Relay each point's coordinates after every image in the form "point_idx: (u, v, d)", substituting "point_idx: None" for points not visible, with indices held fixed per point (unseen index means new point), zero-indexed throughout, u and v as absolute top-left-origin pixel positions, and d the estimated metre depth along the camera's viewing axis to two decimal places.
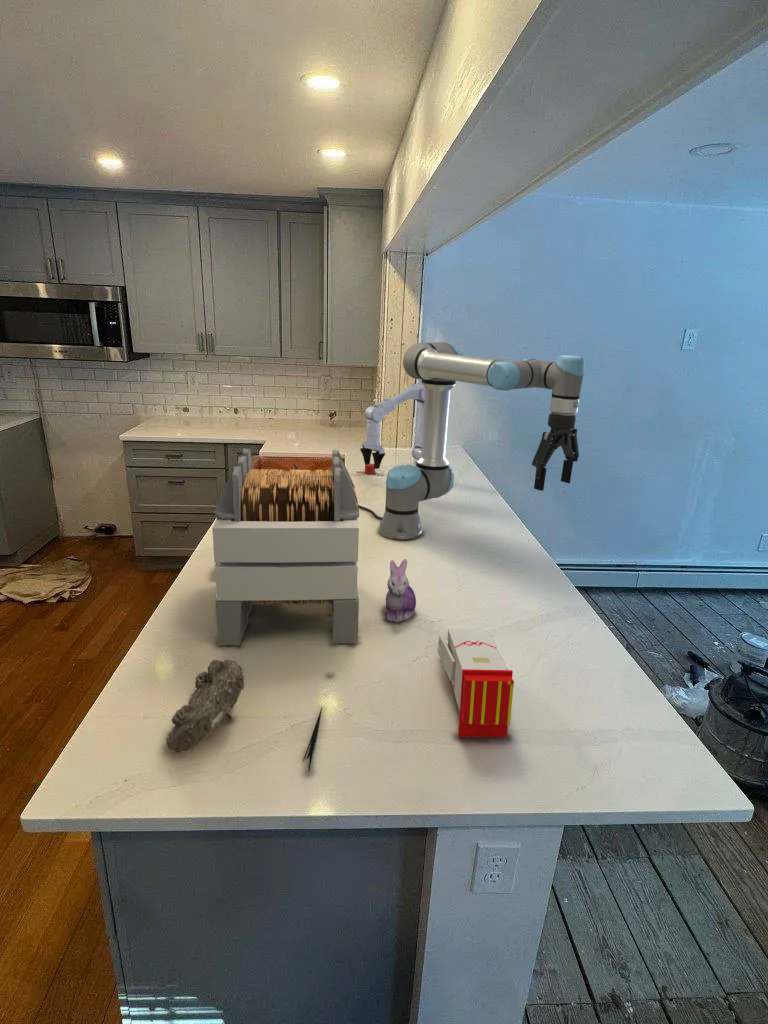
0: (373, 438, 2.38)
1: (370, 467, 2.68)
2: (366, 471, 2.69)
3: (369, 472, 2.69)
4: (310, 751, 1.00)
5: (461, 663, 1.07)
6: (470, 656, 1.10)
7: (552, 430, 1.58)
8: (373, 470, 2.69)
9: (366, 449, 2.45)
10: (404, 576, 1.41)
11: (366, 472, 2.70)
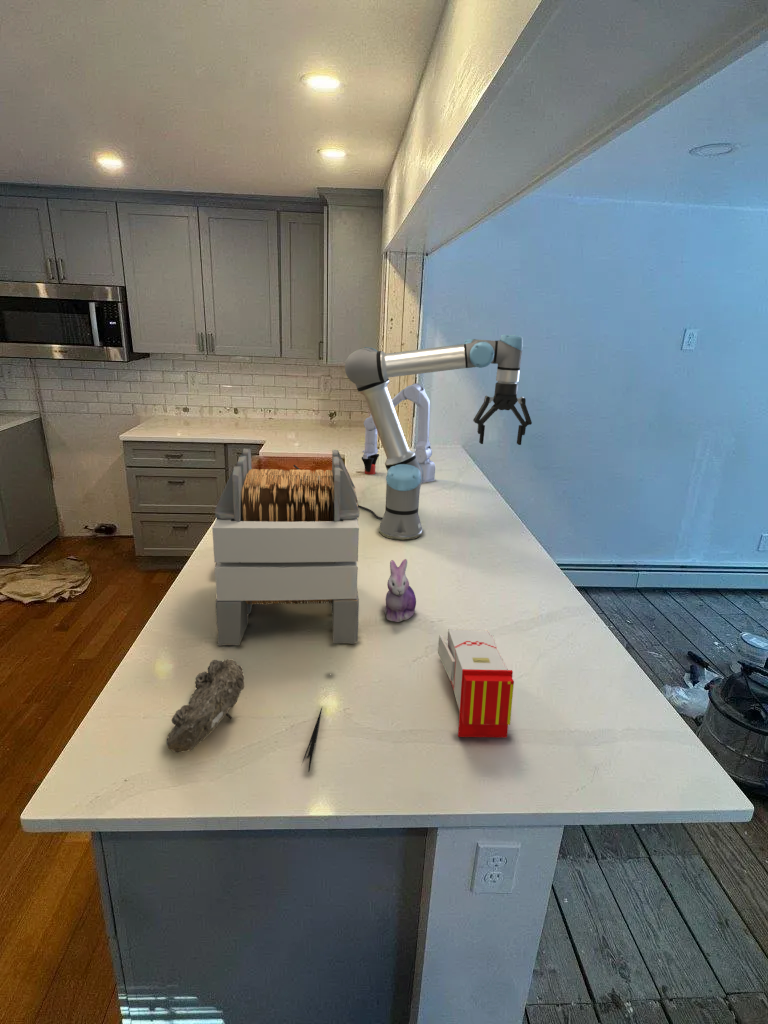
0: (366, 444, 2.65)
1: None
2: None
3: (369, 472, 2.69)
4: (310, 751, 1.00)
5: (461, 663, 1.07)
6: (470, 656, 1.10)
7: None
8: (373, 470, 2.69)
9: (371, 455, 2.71)
10: (404, 576, 1.41)
11: (366, 472, 2.70)
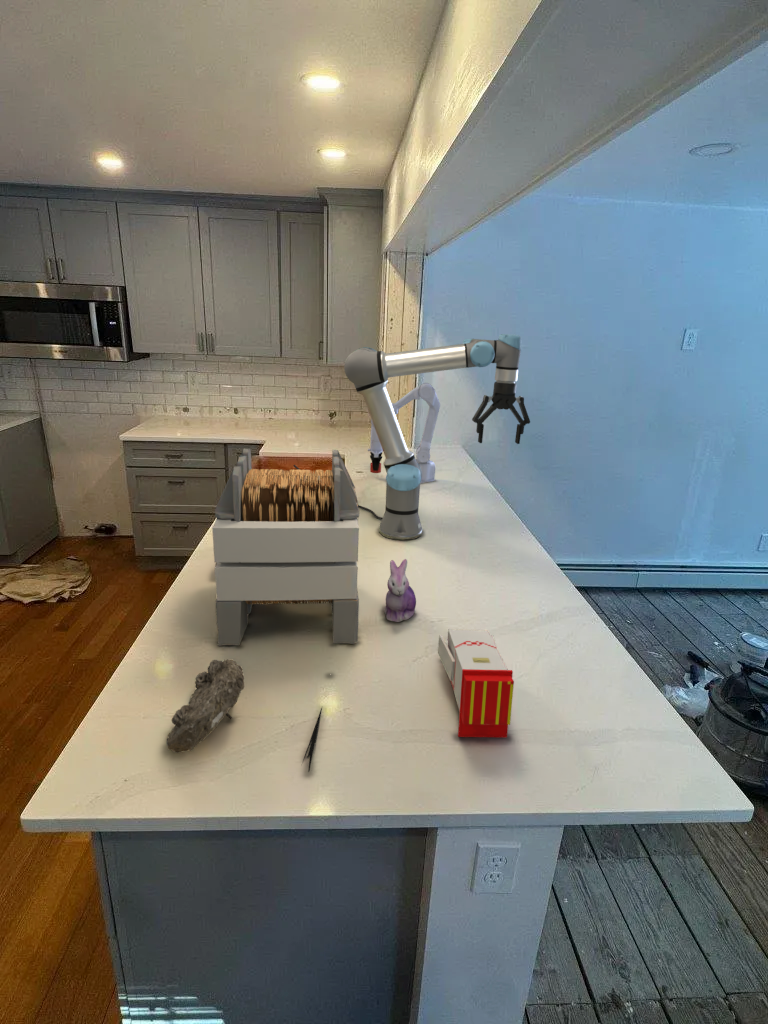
0: (373, 442, 2.56)
1: None
2: (373, 470, 2.61)
3: (377, 471, 2.61)
4: (310, 751, 1.00)
5: (461, 663, 1.07)
6: (470, 656, 1.10)
7: None
8: (380, 468, 2.62)
9: None
10: (404, 576, 1.41)
11: (373, 471, 2.61)
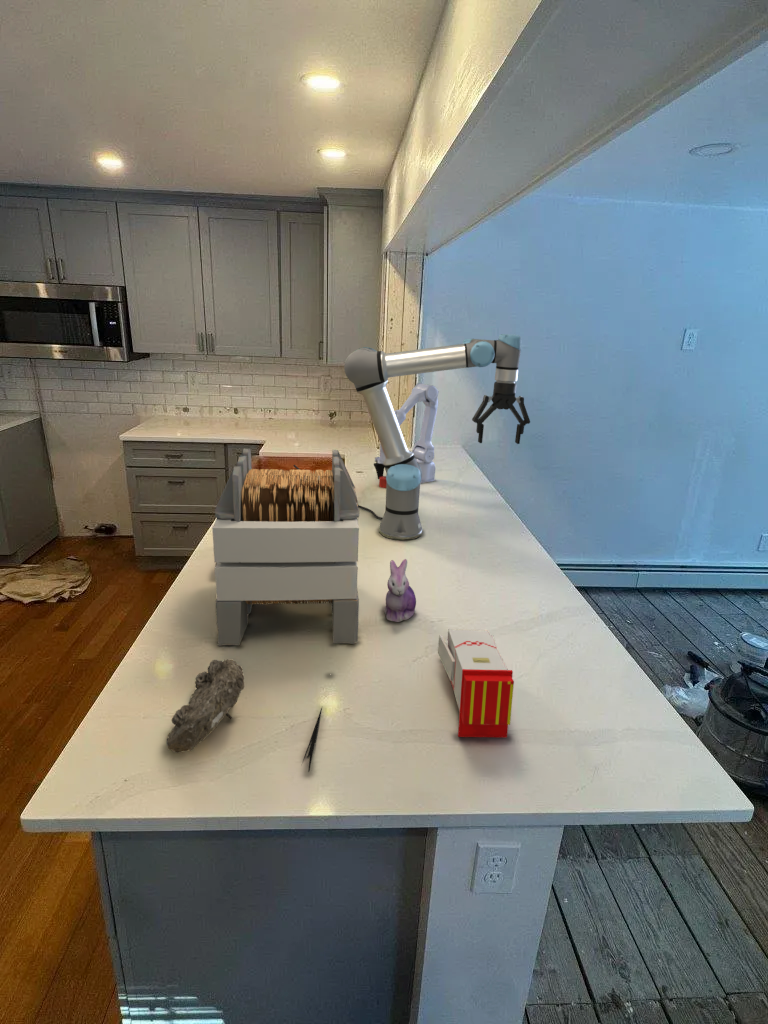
0: None
1: None
2: None
3: None
4: (310, 751, 1.00)
5: (461, 663, 1.07)
6: (470, 656, 1.10)
7: None
8: None
9: (379, 464, 2.52)
10: (404, 576, 1.41)
11: None
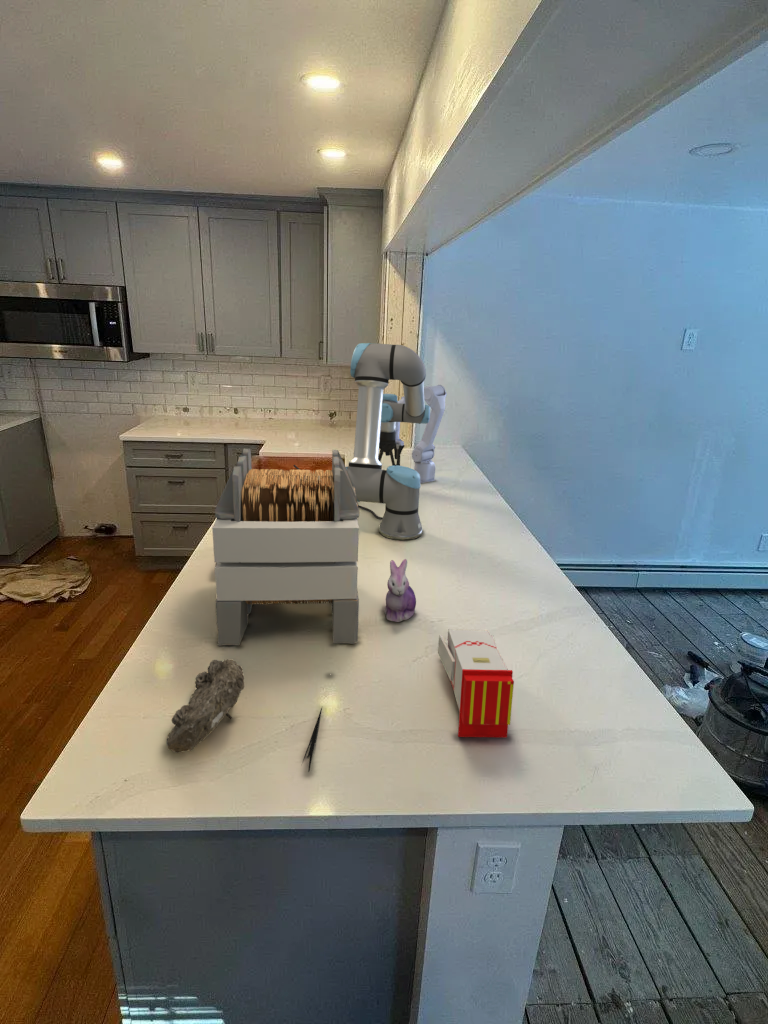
0: None
1: None
2: None
3: None
4: (310, 751, 1.00)
5: (461, 663, 1.07)
6: (470, 656, 1.10)
7: (395, 441, 2.46)
8: None
9: None
10: (404, 576, 1.41)
11: None
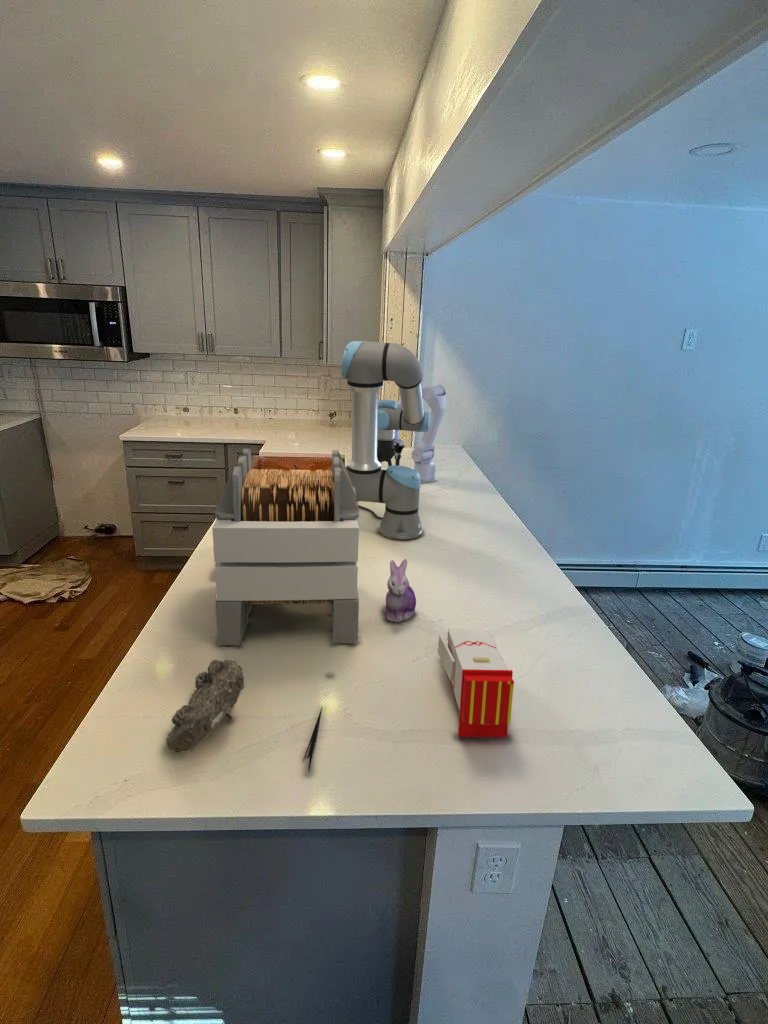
0: None
1: None
2: None
3: None
4: (310, 751, 1.00)
5: (461, 663, 1.07)
6: (470, 656, 1.10)
7: None
8: None
9: None
10: (404, 576, 1.41)
11: None
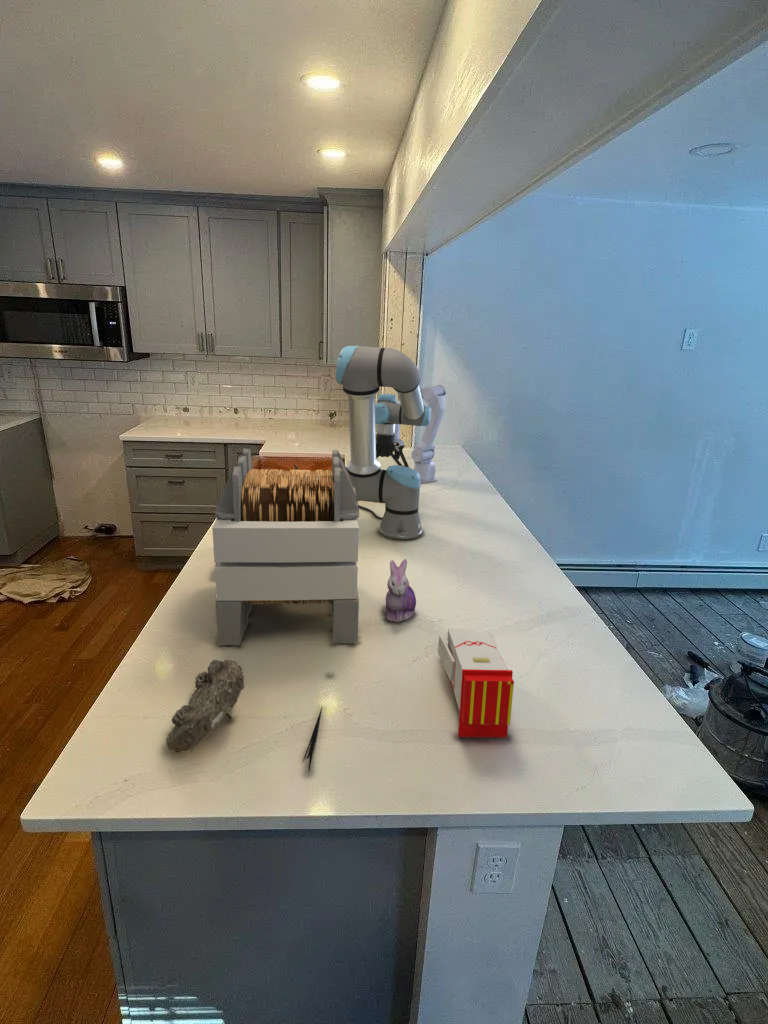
0: None
1: None
2: None
3: None
4: (310, 751, 1.00)
5: (461, 663, 1.07)
6: (470, 656, 1.10)
7: None
8: None
9: None
10: (404, 576, 1.41)
11: None
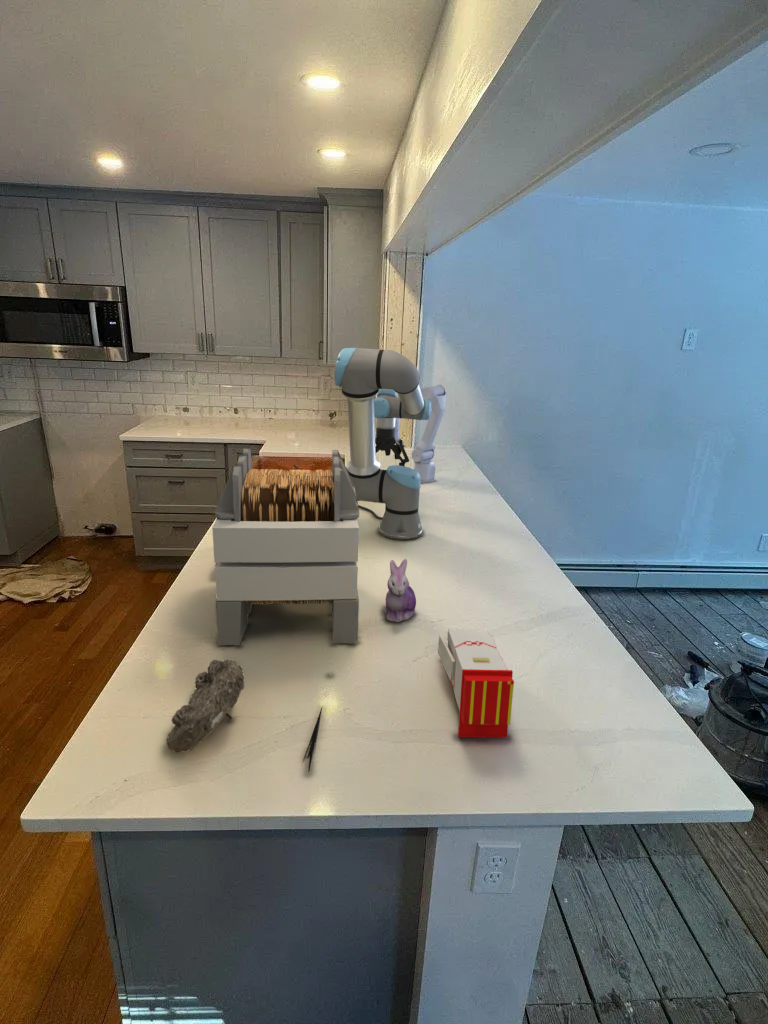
0: None
1: None
2: None
3: None
4: (310, 751, 1.00)
5: (461, 663, 1.07)
6: (470, 656, 1.10)
7: None
8: None
9: None
10: (404, 576, 1.41)
11: None
